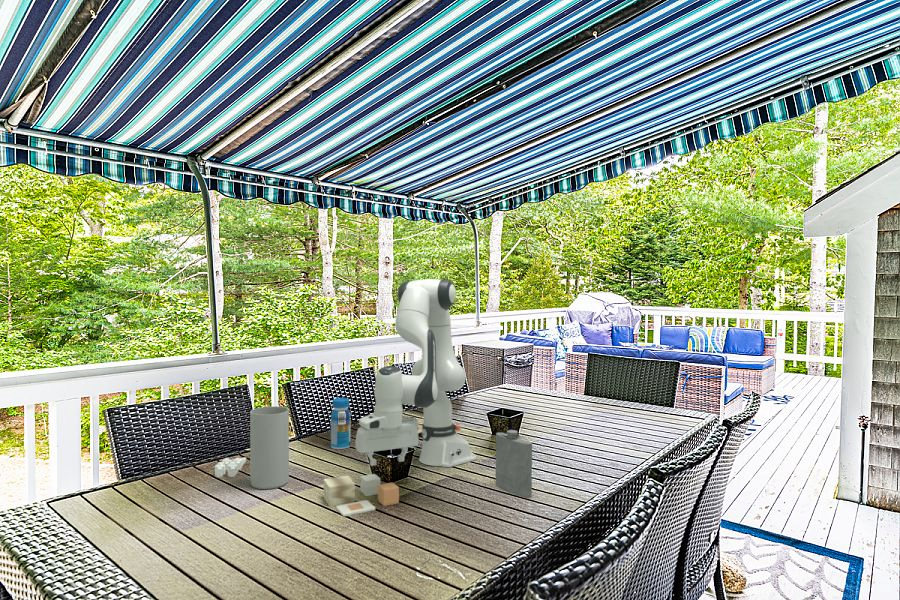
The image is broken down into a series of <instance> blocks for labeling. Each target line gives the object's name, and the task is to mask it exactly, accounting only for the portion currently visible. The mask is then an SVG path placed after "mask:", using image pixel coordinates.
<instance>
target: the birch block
mask: <svg viewBox="0 0 900 600" xmlns="http://www.w3.org/2000/svg"><path fill="white" fill-rule="evenodd" d="M355 497H356V484H355V482H354V481H353V479H352V478H351V477H350V476H349V475H344V476H336V477H329V478H324V479H323V499H324V500H325V502H326V504H327V505H328V507H333V506H334V507H336V506H339V505H344V504H349V503H354V502H356V499H355Z"/></svg>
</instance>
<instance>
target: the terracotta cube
mask: <svg viewBox="0 0 900 600" xmlns="http://www.w3.org/2000/svg"><path fill="white" fill-rule="evenodd" d="M377 501H378V503H380V504H381V505H382V506H383V507H385V506H390V505H391V506H392V505H396V504H399V503H400V502H399V501H400V487H399V486H398V485H396V484H395V483H394V482H391V481H390V482H386V483H383V484H382V483H380V485H378V494H377Z"/></svg>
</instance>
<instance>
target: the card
mask: <svg viewBox="0 0 900 600" xmlns="http://www.w3.org/2000/svg"><path fill="white" fill-rule="evenodd" d="M335 510H337V511H338V512H339V513H340V515H342V517H348V516H353V515H358V514H361V513H367V512H372V511H376V506H374V505H373V504H372V503H371V502H370V501H369V500H367V499H364V500H360V501H355V502H353V503H347V504H341V505H335Z"/></svg>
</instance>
